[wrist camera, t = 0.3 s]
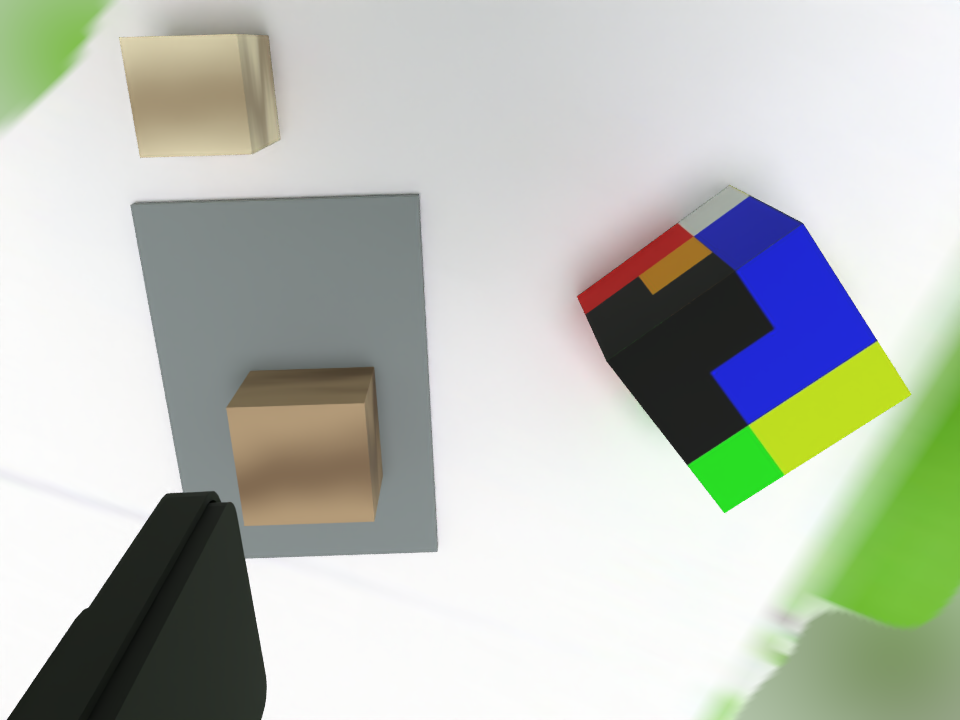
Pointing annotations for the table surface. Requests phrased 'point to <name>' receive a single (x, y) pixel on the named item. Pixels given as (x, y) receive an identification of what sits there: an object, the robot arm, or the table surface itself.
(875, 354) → the puzzle toy
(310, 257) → the mat
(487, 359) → the table surface
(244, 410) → the walnut block
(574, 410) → the table surface
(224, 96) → the maple block
